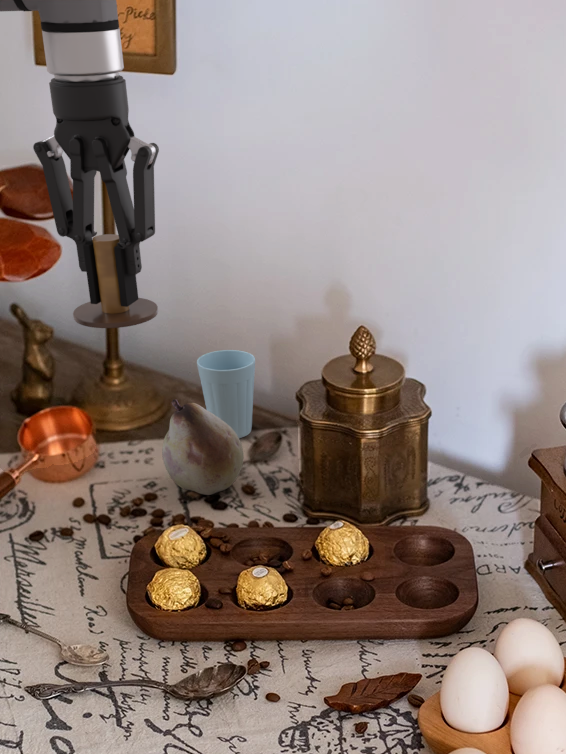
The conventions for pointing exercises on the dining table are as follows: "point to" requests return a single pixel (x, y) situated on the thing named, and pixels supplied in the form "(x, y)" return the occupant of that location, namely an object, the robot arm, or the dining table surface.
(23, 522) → the dining table surface
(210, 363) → the cup
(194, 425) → the fruit
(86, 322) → the lid
